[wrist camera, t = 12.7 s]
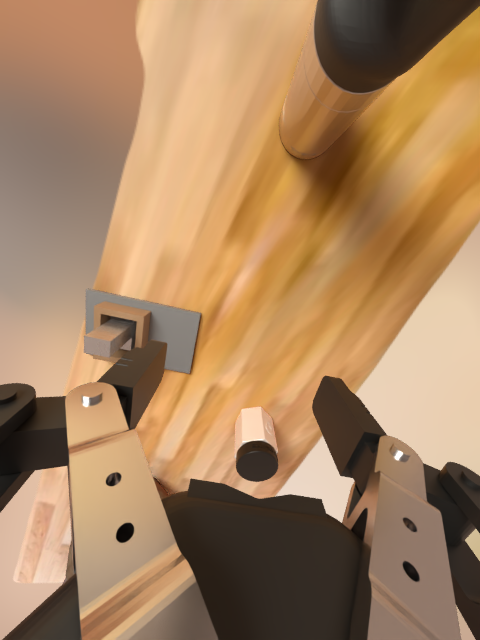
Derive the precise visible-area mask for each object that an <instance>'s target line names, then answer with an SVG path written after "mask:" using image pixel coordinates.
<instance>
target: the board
mask: <svg viewBox="0 0 480 640" xmlns="http://www.w3.org/2000/svg"><path fill="white" fill-rule="evenodd" d="M200 316H201V313H199V312H194V311H190V310H185V309H180V308H176V307H171V306H167V305H162V304H158V303H153V302H148V301H144V300H139V299H135V298H130V297H125V296H121V295H116V294H112V293H107V292H103V291H98V290H93V289H86V334H88V333H89V332H91V331H93V330H94V329H96V328H98V327H99V326H101V325H102V324H104V323H106V322H107V321H109V320H111V319H112V318H114V317H119V318H124V319H128V320H133V321H137V326H136V338H135V347H134V348H136V347H139V348H144V347H145V346H146V344H147V343H148V342H149V341H150V340H156V341H161V342H166V343H167V353H166V360H165V367H164V369H168V370H173V371H178V372H184V373H189V374H190V370H191V365H192V360H193V354H194V349H195V343H196V338H197V332H198V327H199V321H200ZM134 348H133V349H134ZM127 351H129V350H125V349H119V350H118V351H116V352H115V353H114V354H113V355H112V356H111V357H110V358H108V357H103V356H99V355H94V354H91V355H93V359H98V360H104V361H109V362H114V363H116V362H117V361H118V360H119V359H121V357H122V356H123V355H124V354H125V353H126V352H127ZM86 354H89V353H86Z"/></svg>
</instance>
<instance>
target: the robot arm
mask: <svg viewBox="0 0 480 640" xmlns="http://www.w3.org/2000/svg"><path fill="white" fill-rule="evenodd" d="M479 6H480V0H318V2H317V5H316V8H315V11H314V14H313V17H312V20H311V23H310V26H309V29H308V32H307V36H306V39H305V42H304V45H303V48H302V51H301V54H300V57H299V60H298V63H297V66H296V69H295V72H294V75H293V78H292V81H291V84H290V87H289V90H288V93H287V96H286V99H285V102H284V105H283V108H282V111H281V115H280V119H279V132H280V137H281V141H282V143H283V145H284V147H285V148H286V149H287V151H288V152H289V153H290V154H292V155H293V156H295V157H297V158H299V159H312V158H315V157H318V156H319V155H321V154H323V153H324V152H325V151H326V150H327V149H328V148H329V147H330V146H331V145H332V144H333V143H334V142H335V141H336V140H337V139H338V138H339V137H340V136H341V135H342V134H343V133H344V132H345V131H346V130H347V129H348V128H349V127H350V125H351V124H352V123H353V122H354V121H355V120H356V119H357V118H358V117H359V116H360V115H361V114H362V113H363V112H364V111H365V110H366V109H367V108H368V107H369V106H370V105H371V104H372V103H373V102H374V101H375V100H376V99H377V97H378V96H379V95H380V94H381V93H382V92H383V91H384V90H385V89H386V88H387V87H388V86H389V85H390V84H391V83H392V82H393V81H394V80H395V79H396V78H397V77H398V76H400V75H402V74H404V73H405V72H407V71H408V70H409V69H411V68H412V67H413V66H414V65H415V64H416V63H417V62H419V61H420V60H421V59H422V58H423V57H424V56H425V55H426V54H427V53H428V52H429V51H430V50H431V49H432V48H433V47H434V46H436V45H437V44H438V43H439V42H440V41H441V40H442V39H443V38H444V37H445V36H447V35H448V34H449V33H450V32H451V31H452V30H453V29H454V28H455V27H456V26H458V25H459V24H460V23H461V22H462V21H463V20H464V19H465V18H467V17H468V16H469V15H470V14H471V13H472V12H473V11H474V10H476V9H477V8H478V7H479ZM166 353H167V343H166V342H161V341H156V340H150V341H149V342H148V343H147V344H146V346H145V347H144V348H139V347H136V348H134V349H132V350H130V351H127V352H126V353H125V354H124V355H123V356H122V357H121V359H119V360H118V361H117V362H116V364H114V365H113V366H112V367H111V368H110V369H109V370H108V371H107V372H106V373H105V374H104V375H103V376H102V377H101V378H100V379H99V380H98V381H97V382H93V383H87V384H84V385H81V386H78V387H76V388H74V389H73V390H72V391H70V392H69V393H68V395H67V396H62V397H40V398H36V392H35V389H34V388H33V387H32V386H30V385H27V384H21V383H12V384H4V385H0V512H1V511H2V510H3V509H4V507H5V506H6V505H7V504H8V502H9V501H10V500H11V499H12V498H13V496H14V495H15V494H16V493H17V491H18V490H19V489H20V488H21V486H22V485H23V484H24V483H25V482H26V480H27V479H28V478H29V477H30V475H31V474H32V473H33V472H34V471H35V470H40V469H47V468H54V467H61V466H68V483H69V500H70V518H71V538H72V558H73V575H72V576H71V577H70V578H69V579H68V580H67V581H66V582H65V583H64V584H63V585H62V586H60V587H59V588H58V589H57V590H56V591H55V592H54V593H53V594H52V595H51V596H50V597H48V598H47V599H46V600H45V601H44V602H43V603H42V604H41V605H40V606H39V607H37V608H36V609H35V610H34V611H33V612H32V613H31V614H30V615H29V616H28V617H27V618H25V619H24V620H23V621H22V622H21V623H20V624H19V625H18V626H17V627H16V628H14V629H13V630H12V631H11V632H10V633H9V634H8V635H7V636H6V637H5V638H4V639H3V640H461V636H460V628H459V622H458V616H457V609H456V605H457V607H458V609H459V611H460V612H461V614H462V616H463V618H464V619H465V621H466V623H467V625H468V627H469V628H470V630H471V632H472V634H473V635H474V637H475V639H476V640H480V561H479V560H478V558H477V557H476V556H475V554H474V553H473V551H472V550H471V549H470V547H469V546H468V544H467V543H466V542H465V539H466V538H467V537H468V536H469V535H470V534H471V533H472V532H473V531H474V530H475V529H477V530H478V532H479V533H480V476H479V475H477V474H476V473H474V472H473V471H471V470H470V469H468V468H466V467H464V466H462V465H460V464H457V463H454V462H448V463H447V464H446V465H445V466H444V467H443V469H442V470H441V471H440V470H438V469H435V468H433V467H431V466H428V465H426V464H424V463H423V462H422V460H421V459H420V457H419V456H418V454H417V453H416V452H415V451H414V450H413V449H412V448H410V447H409V446H408V445H407V444H405V443H404V442H402V441H400V440H398V439H396V438H394V437H391V436H387V435H386V433H385V432H384V430H383V429H382V428H381V427H380V425H379V424H378V423H377V421H376V420H375V419H374V417H373V416H372V415H371V414H370V412H369V411H368V410H367V408H365V405H364V404H363V403H362V401H361V400H360V399H359V398H358V397H357V396H356V395H355V394H354V393H352V392H351V391H350V390H349V389H348V387H347V386H346V385H345V383H344V382H343V381H342V379H340V378H335V377H330V376H324V377H323V379H322V381H321V383H320V386H319V388H318V390H317V393H316V395H315V398H314V400H313V405H312V408H313V413H314V416H315V418H316V420H317V423H318V425H319V427H320V430H321V432H322V434H323V437H324V439H325V441H326V443H327V446H328V448H329V451H330V453H331V455H332V457H333V460H334V462H335V464H336V466H337V469H338V471H339V474H340V476H345V477H350V478H353V479H354V480H355V482H354V484H353V485H352V487H351V491H350V494H349V498H348V503H347V507H346V510H345V514H344V518H343V522H342V523H341V522H339V521H338V520H337V519H335V518H333V517H331V516H330V515H328V514H326V512H325V509H324V506H323V503H322V499H316V498H310V497H304V496H297V495H284V496H277V497H270V498H264V499H257V498H254V497H252V496H250V495H248V494H245V493H243V492H241V491H239V490H237V489H234V488H232V487H230V486H228V485H225V484H221V483H215V482H209V481H202V480H196V479H191V480H190V484H189V489H188V491H184V492H179V493H176V494H172V495H169V496H167V497H165V498H162V499H160V496H159V493H158V490H157V487H156V485H155V482H154V479H153V476H152V473H151V471H150V468H149V465H148V462H147V459H146V457H145V454H144V451H143V448H142V445H141V443H140V440H139V437H138V434H137V432H136V430H135V428H136V426H137V424H138V422H139V420H140V419H141V417H142V415H143V413H144V411H145V409H146V408H147V406H148V404H149V402H150V400H151V399H152V397H153V395H154V393H155V391H156V390H157V388H158V386H159V384H160V382H161V380H162V377H163V373H164V367H165V360H166Z"/></svg>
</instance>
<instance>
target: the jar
mask: <svg viewBox="0 0 480 640" xmlns="http://www.w3.org/2000/svg"><path fill="white" fill-rule="evenodd" d="M277 453H278V448H277V443H276V437H275V432H274V426H273V421H272V418H271V417H270V415H269V414H268V413H267V412H266V411H265V410H264V409H263V408H262V407H252V408H245V409H242V410H241V412H240V414H239V416H238V418H237V420H236V422H235V456H234V457H235V458H236V469H237V472H238V473H239V475H240V476H241V477H243V478H244V479H246V480H249V481H255V482H259V481H264V480H267V479H269V478H271V477H272V476H274V474H275V473H276V472H277V469H278V458H277Z"/></svg>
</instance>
